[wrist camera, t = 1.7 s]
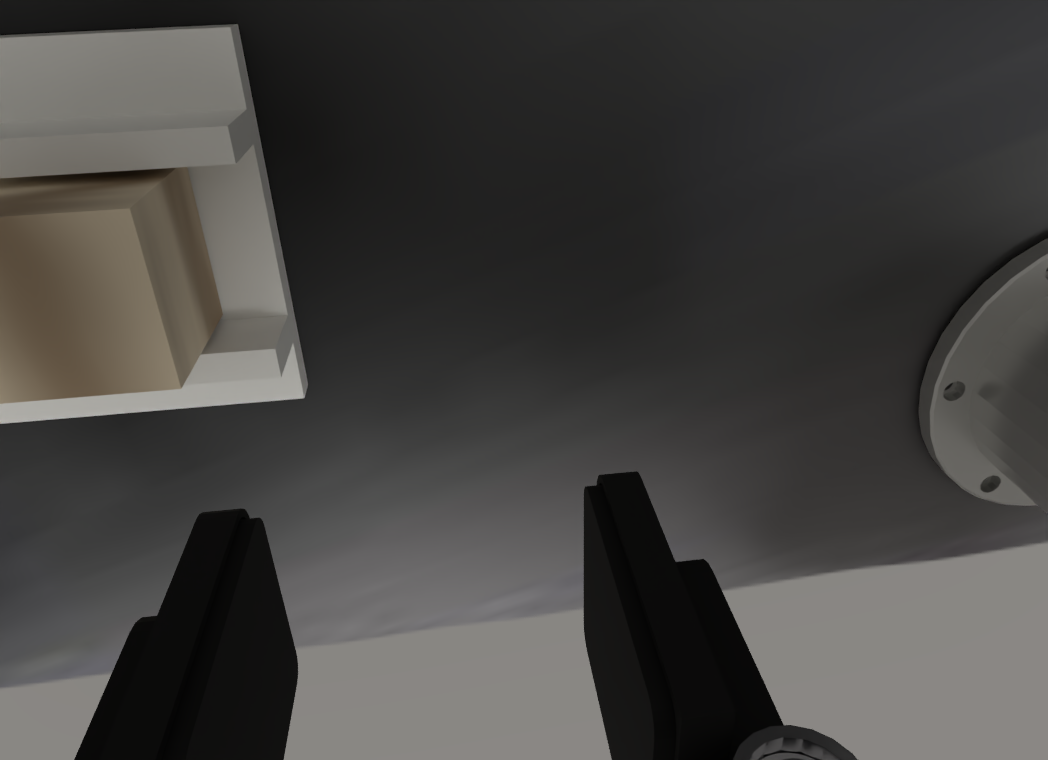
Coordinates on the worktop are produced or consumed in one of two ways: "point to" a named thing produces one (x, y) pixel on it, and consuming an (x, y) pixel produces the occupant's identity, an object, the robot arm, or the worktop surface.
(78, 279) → the block
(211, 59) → the chute
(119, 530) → the worktop surface
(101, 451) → the worktop surface
